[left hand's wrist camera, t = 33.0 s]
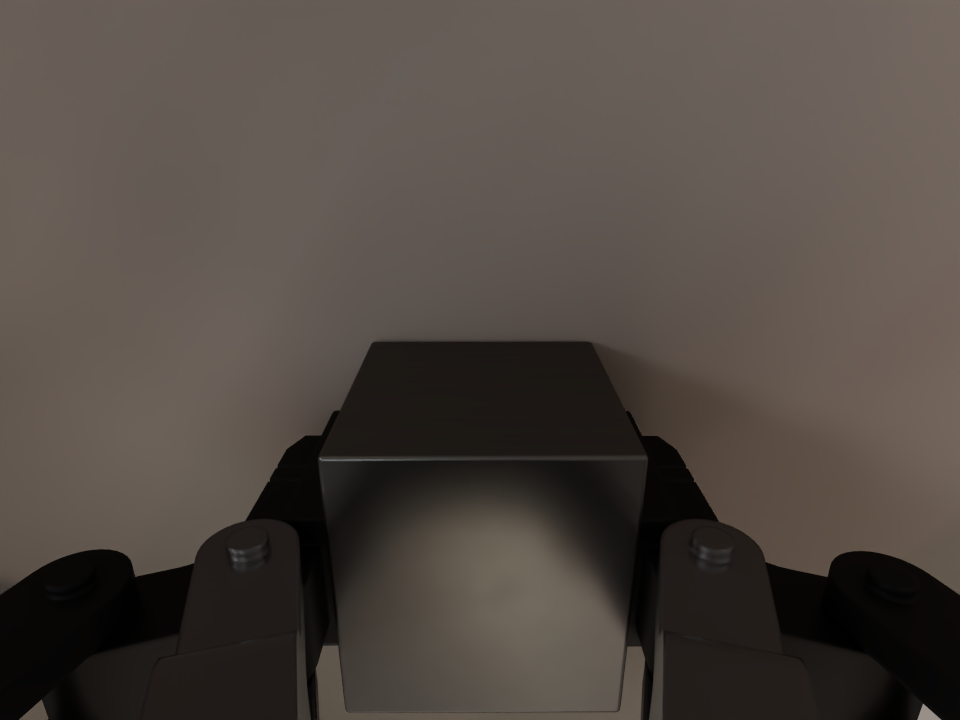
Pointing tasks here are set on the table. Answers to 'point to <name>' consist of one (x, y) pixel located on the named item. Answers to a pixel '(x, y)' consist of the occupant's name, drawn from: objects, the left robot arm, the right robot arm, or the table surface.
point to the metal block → (482, 529)
